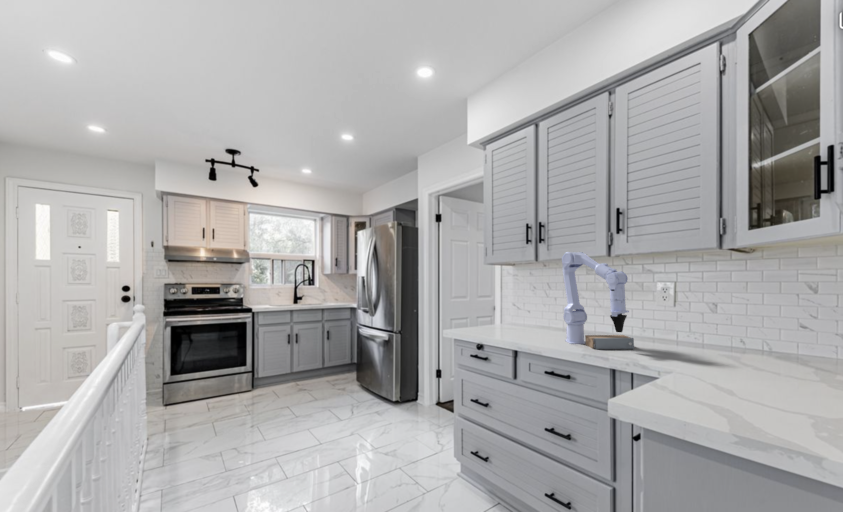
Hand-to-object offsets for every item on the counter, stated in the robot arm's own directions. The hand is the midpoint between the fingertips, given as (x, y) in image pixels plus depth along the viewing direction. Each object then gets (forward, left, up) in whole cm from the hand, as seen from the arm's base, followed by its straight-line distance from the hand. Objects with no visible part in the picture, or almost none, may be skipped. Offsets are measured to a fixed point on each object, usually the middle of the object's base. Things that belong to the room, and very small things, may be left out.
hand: (619, 332), depth 155 cm
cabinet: (-10, -1, -8) cm, 13 cm away
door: (-4, -1, -8) cm, 9 cm away
